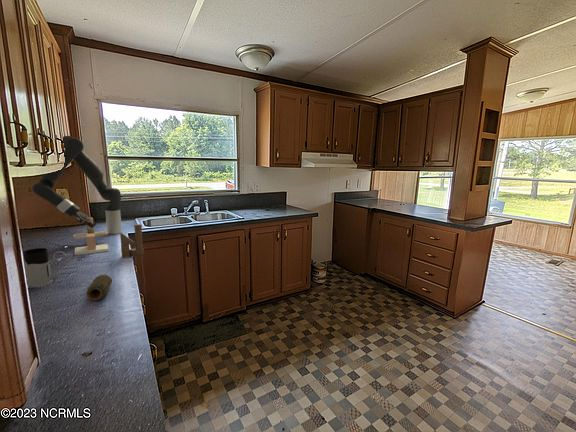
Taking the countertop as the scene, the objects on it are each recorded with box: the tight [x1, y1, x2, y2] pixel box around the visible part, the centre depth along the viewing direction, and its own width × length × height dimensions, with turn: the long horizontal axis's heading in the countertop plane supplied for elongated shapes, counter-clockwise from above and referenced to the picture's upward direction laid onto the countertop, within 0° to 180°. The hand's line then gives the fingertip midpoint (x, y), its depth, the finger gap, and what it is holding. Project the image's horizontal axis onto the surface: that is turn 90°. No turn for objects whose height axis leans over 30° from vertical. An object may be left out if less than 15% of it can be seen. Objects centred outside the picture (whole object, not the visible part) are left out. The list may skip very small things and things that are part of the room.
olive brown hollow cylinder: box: [86, 274, 113, 302], centre depth 111 cm, size 15×7×7 cm, turn 26°
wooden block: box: [119, 223, 145, 259], centre depth 156 cm, size 4×11×18 cm, turn 129°
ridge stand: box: [74, 233, 109, 256], centre depth 163 cm, size 11×16×10 cm
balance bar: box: [72, 217, 109, 239], centre depth 175 cm, size 5×18×12 cm, turn 125°
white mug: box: [22, 247, 67, 289], centre depth 118 cm, size 9×14×15 cm, turn 118°
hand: (94, 226), depth 176 cm, fingers closed on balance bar, 3 cm apart
